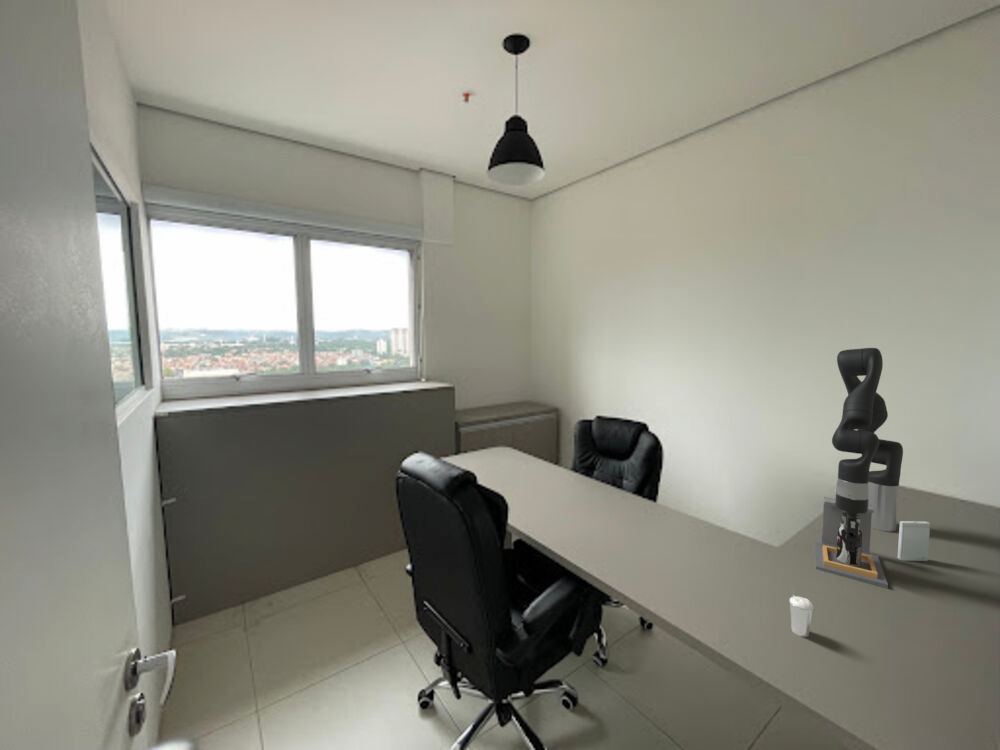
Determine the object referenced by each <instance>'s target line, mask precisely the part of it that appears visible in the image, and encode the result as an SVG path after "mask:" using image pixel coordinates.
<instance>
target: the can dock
mask: <svg viewBox="0 0 1000 750" xmlns="http://www.w3.org/2000/svg"><path fill="white" fill-rule="evenodd" d="M835 502H836V498H835V497H834V498H833V497H828V496H827V497H826V496H824V497H823V507H822V509H823V511H822V512H823V513H822V529H821V530H822V531H821V541H819V540H814V541H813V545H814V559H815V560H814V561H815V570H818V571H822V572H826V573H829V574H833V575H837V576H839V577H844V578H847V579H851V580H853V581H857V582H862V583H865V584H869V585H872V586H876V587H880V588H883V589H887V590H888V589H889V584H888V581H887V578H886V576H885V573H884V569H883V567H882V563H881V561H880V558H879V556H878V554H877V553H873V552H870V549H871V535H872V534H871V531H872V530H871V529H872V528H871V518H872V513H874V509H873V507H872V505H869V504H868V512H867V513H863V514H861V513H859V514H857V515H859V518H860V523H859V527H860V530H861V532H862V548H861V564H860V565H858V566H849V565H845V564H843V563H841V562H840V561H839V560H837V558H836V551H837V533H838V527H839V526H840V525H841V523H842V512H844V510H841V509H839V508H838V507H836V505H835Z"/></svg>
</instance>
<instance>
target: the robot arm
mask: <svg viewBox="0 0 1000 750" xmlns="http://www.w3.org/2000/svg"><path fill="white" fill-rule="evenodd" d="M836 356H837V357H836V363H837V367H838V370H839V373H840V375H841V378H842V381H843V383H844V386H845V388H846V391H847V396H846V397H845V399H844V402H843V404H842V405H843V406H842V407H843V408H842V416H841V420H840V423H839V424H838V427H837V428H836V430H835V431H834V433H833V435H832V438H831V443H832V447H833V448H834V449H835V450H837V451H840V452H842V453H843V452H844V453H852V454H859V455H861V456H860V457H857V458H844V459H841V460H839V462H838V465H837V466H838V467H837V468H838V471H837V480H836V488H835V499H836V502H835V505H836V507H838V508H839V509H841V510H844V512H842V523H844V531H846V536H845V537H846V545H845V549H846V551H849V552H855V546H856V541H857V540H858V532H859V523H860V518H859V515H857V514H859V513H861V514H863V513H867V512H868V504H869V505H872V507H873V509H874V513H872V518H871V529H874V530H877V531H882V532H896V531H897V521H898V520H897V519H898V505H899V493H900V491H899V490H900V481H901V479H900V478H901V470H902V463H903V457H904V448H903V445H902V444H901V443H900V442H898V441H895V440H887V439H881V438H879V437H878V435H877V434H876V431H878V429H880V428H881V427H882V426H883V425H884V424H885V422H886V421H887V419H888V416H889V414H888V410H887V405H886V404H887V403H886V402H885V399H884V398H883V396H881V394H879V393H878V392H877V390H878V388H879V387H878V386H879V384H880V379H881V376H882V372H883V367H884V366H883V365H884V363H883V356H882V353H881V350H880V349H878V348H877V347H864V348H854V349H852V348H851V349H844V350H840V351H839V352H838V354H837V355H836ZM861 376H862V377H863V376H864V379H863V380H861V379H860V378H859V377H861ZM872 463H873V464H879V465H882V466H886V468H885V469H882V470H871V471H870V468H871V464H872ZM849 533H854V536H850V535H849Z"/></svg>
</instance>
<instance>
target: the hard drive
mask: <svg viewBox="0 0 1000 750" xmlns="http://www.w3.org/2000/svg"><path fill="white" fill-rule="evenodd" d="M898 528H899V530H898V543H897V545H898V546H897V559H898V560H900V561H908V562H909V561H911V562H914V561H916V562H921V561H922V562H927V561H928V560H929V559H928V558H929V545H930V544H929V543H930V529H931V522H928V521H925V520H924V521H917V520H916V521H915V520H911V521H910V520H901V521H899V527H898Z"/></svg>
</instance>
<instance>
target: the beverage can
mask: <svg viewBox="0 0 1000 750" xmlns="http://www.w3.org/2000/svg"><path fill="white" fill-rule="evenodd" d="M849 535H850V536H854V533H849ZM845 536H846V531H844V523H841V525H840V526H839V527H838V533H837V551H836V558H837V560H839V561H840V562H841V563H843V564H845V565H849V566H858V565H860V564H861V548H862V532H861V530H860V527H859V532H858V540H857V541H856V546H855V552H849V551H846V549H845V545H846V537H845Z"/></svg>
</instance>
